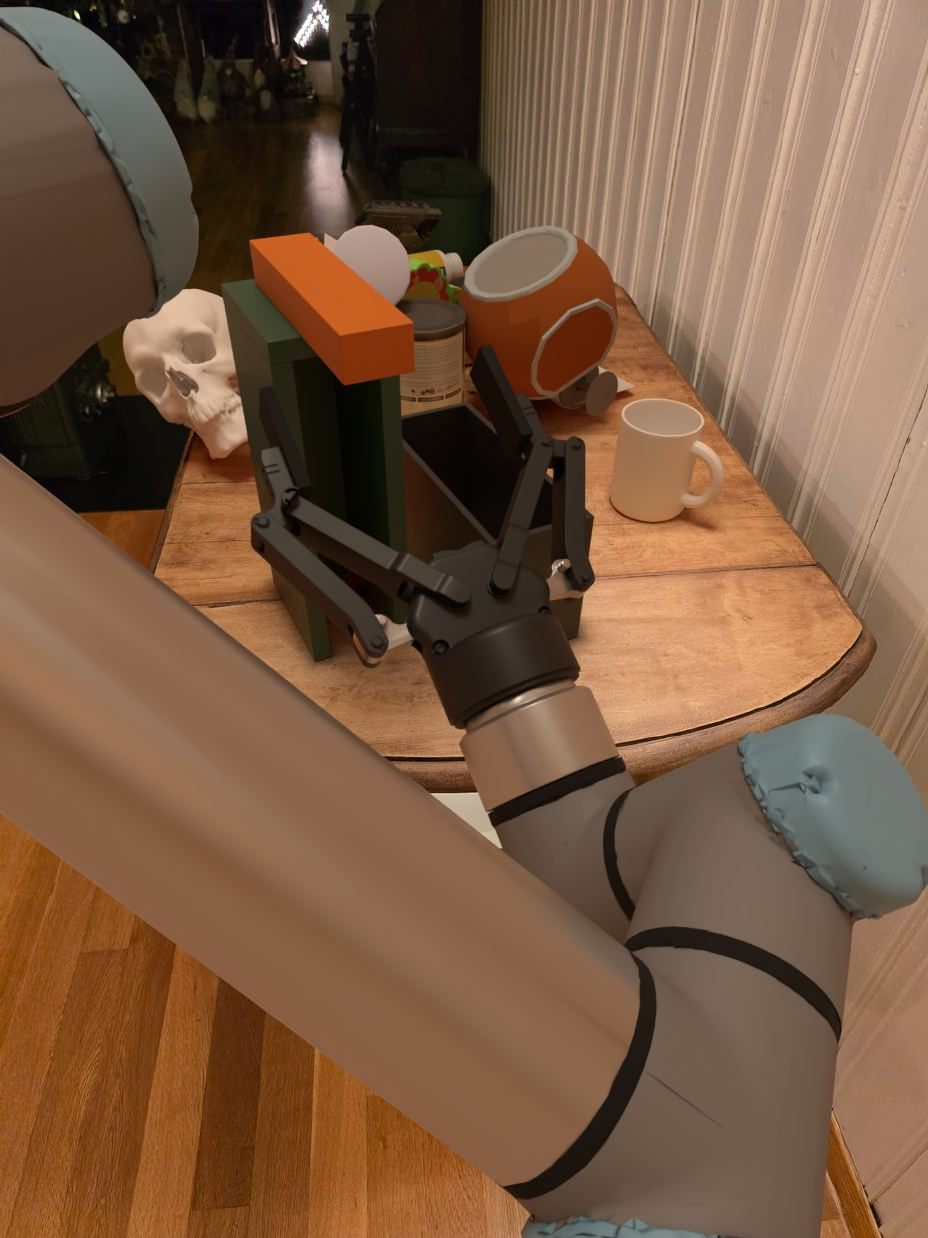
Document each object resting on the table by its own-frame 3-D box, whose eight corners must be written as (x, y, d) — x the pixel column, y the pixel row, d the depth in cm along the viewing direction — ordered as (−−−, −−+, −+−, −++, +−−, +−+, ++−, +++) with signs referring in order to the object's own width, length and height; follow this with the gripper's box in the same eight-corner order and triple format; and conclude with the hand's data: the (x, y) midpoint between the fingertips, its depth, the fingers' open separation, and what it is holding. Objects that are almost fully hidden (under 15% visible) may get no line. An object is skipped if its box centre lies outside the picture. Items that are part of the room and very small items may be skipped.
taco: (453, 350, 120) (454, 240, 110) (481, 361, 117) (483, 249, 107) (371, 383, 111) (363, 266, 101) (398, 396, 109) (393, 277, 99)
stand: (411, 631, 73) (397, 319, 55) (314, 662, 70) (267, 342, 52) (362, 559, 81) (336, 266, 63) (273, 584, 78) (220, 283, 60)
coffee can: (365, 425, 102) (357, 311, 93) (428, 400, 108) (426, 290, 98) (418, 456, 97) (415, 338, 87) (482, 428, 102) (485, 315, 93)
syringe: (628, 379, 103) (475, 308, 120) (603, 358, 98) (447, 288, 115) (601, 426, 105) (454, 350, 122) (574, 409, 99) (425, 332, 117)
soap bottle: (352, 327, 91) (339, 334, 114) (425, 290, 92) (397, 305, 115) (313, 247, 88) (307, 271, 111) (388, 209, 89) (367, 241, 112)
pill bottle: (402, 262, 130) (465, 250, 134) (384, 253, 134) (446, 242, 139) (405, 304, 134) (466, 291, 138) (387, 294, 138) (448, 282, 143)
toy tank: (389, 257, 149) (421, 302, 149) (282, 262, 127) (320, 315, 127) (436, 198, 140) (470, 246, 140) (330, 192, 118) (370, 249, 118)
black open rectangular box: (578, 636, 73) (594, 516, 65) (486, 668, 70) (491, 545, 62) (465, 512, 88) (467, 401, 80) (386, 533, 85) (379, 420, 77)
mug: (730, 515, 88) (753, 427, 82) (690, 548, 84) (711, 458, 77) (635, 475, 94) (650, 390, 88) (593, 503, 90) (605, 416, 83)
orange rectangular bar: (415, 372, 49) (414, 322, 47) (344, 385, 47) (339, 334, 45) (314, 274, 62) (309, 232, 60) (255, 283, 60) (248, 239, 58)
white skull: (174, 485, 88) (72, 335, 87) (250, 485, 108) (168, 362, 107) (272, 410, 85) (167, 254, 84) (333, 424, 105) (248, 297, 104)
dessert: (509, 381, 112) (510, 346, 109) (578, 362, 117) (581, 328, 114) (563, 415, 105) (566, 380, 102) (634, 394, 110) (639, 359, 107)
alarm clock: (495, 345, 86) (408, 258, 93) (519, 442, 102) (443, 361, 109) (640, 243, 87) (543, 166, 95) (641, 354, 103) (558, 280, 111)
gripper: (287, 803, 42) (169, 458, 48) (677, 659, 51) (539, 380, 56) (294, 776, 36) (156, 378, 41) (742, 614, 44) (578, 303, 50)
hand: (377, 378), depth 49 cm, fingers open, 13 cm apart
